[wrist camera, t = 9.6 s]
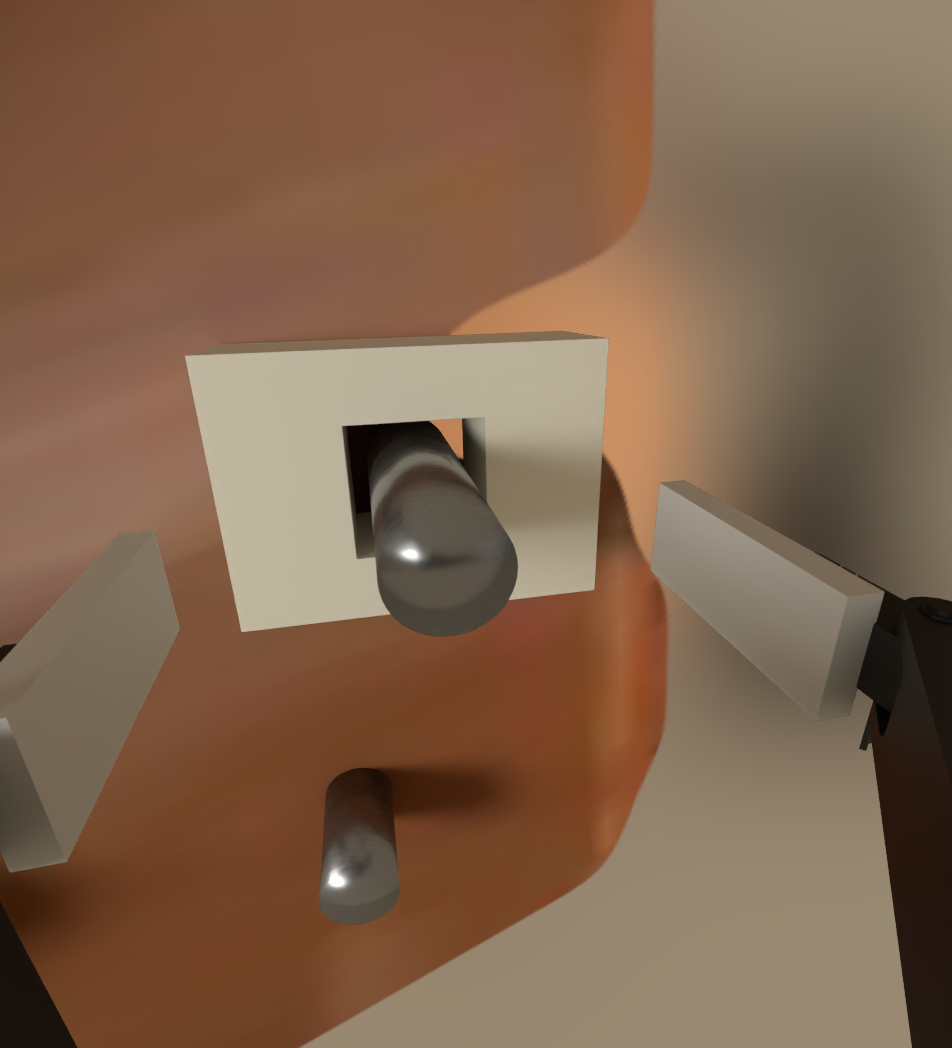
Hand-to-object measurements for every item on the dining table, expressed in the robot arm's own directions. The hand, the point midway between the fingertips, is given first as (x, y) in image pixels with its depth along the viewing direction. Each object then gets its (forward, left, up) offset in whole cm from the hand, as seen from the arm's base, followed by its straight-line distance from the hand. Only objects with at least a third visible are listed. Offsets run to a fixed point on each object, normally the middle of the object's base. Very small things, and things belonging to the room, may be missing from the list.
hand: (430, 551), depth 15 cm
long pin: (0, 0, -11) cm, 11 cm away
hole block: (0, 0, -11) cm, 11 cm away
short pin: (+19, -4, -11) cm, 23 cm away
